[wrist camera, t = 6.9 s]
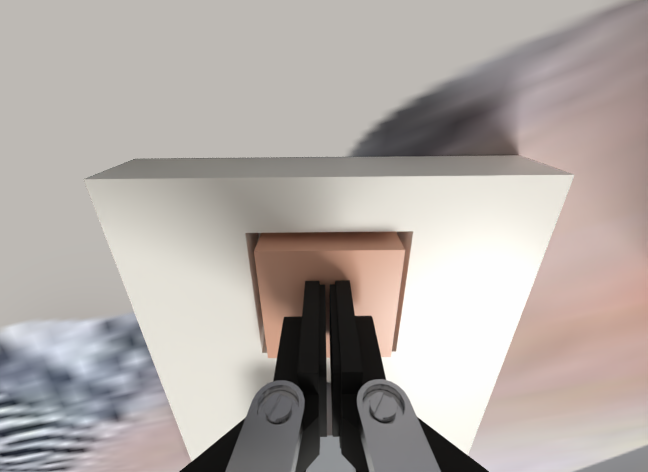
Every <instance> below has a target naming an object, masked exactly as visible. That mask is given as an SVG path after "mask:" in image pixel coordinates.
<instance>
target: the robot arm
mask: <svg viewBox="0 0 648 472" xmlns="http://www.w3.org/2000/svg"><path fill="white" fill-rule="evenodd" d="M330 370H331V403H332V435H333V437H339V443H340V449H341V454H342V455H343V456H344V457H345V458H346V460H347V461H348V462H349V463H350V464H351V465H352V466H353V472H489V471H487V470H486V469H485V468H484V467H482V466H481V465H480V464H478V463H477V462H476V461H474V460H473V459H472V458H470V457H469V456H468V455H467V454H465V453H464V452H463V451H461V450H460V449H459V448H457V447H456V446H455V445H453V444H452V443H451V442H450V441H448V440H447V439H446V438H444V437H443V436H442V435H440V434H439V433H438V432H437V431H435V430H434V429H433V428H431V427H430V426H429V425H427V424H426V423H425V422H423V421H422V420H421V419H420V418H418V417H417V416H416V414H415V411H414V409H413V407H412V404H411V402H410V400H409V398H408V396H407V395H406V393H405V391H404V390H402V389H401V388H400V387H399V386H398V385H396V384H395V383H393V382H391V381H387V380H386V377H385V372H384V367H383V363H382V358H381V354H380V349H379V345H378V340H377V335H376V331H375V326H374V322H373V318H372V316H355V313H354V306H353V299H352V292H351V285H350V280H341V281H335V284H330ZM320 437H327V365H326V305H325V285H320V281H305V288H304V300H303V312H302V316H290V317H284V319H283V324H282V330H281V336H280V342H279V348H278V355H277V361H276V367H275V373H274V379H273V382H270V383H268V384H266V385H265V386H263V387H262V388H261V389H260V390H259V391H258V392H257V393H256V395H255V396H254V398H253V400H252V402H251V405H250V408H249V410H248V413H247V416H246V417H245V418H244V419H243V420H242V421H241V422H239V423H238V424H237V425H236V426H235V427H233V428H232V429H231V430H230V431H228V432H227V433H226V434H225V435H224V436H222V437H221V438H220V439H219V440H217V441H216V442H215V443H214V444H213V445H211V446H210V447H209V448H208V449H207V450H205V451H204V452H203V453H202V454H200V455H199V456H198V457H197V458H196V459H194V460H193V461H192V462H191V463H189V464H188V465H187V466H186V467H185V468H183V469H182V470H181V471H180V472H308V467H309V466H310V465H311V464H312V462H313V461H314V460H315V459H316V458H317V457H318V456H319V455H320Z"/></svg>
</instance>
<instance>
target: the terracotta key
mask: <svg viewBox="0 0 648 472" xmlns="http://www.w3.org/2000/svg"><path fill="white" fill-rule="evenodd" d="M254 256H255V264H256V271H257V279H258V286H259V294H260V302H261V309H262V317H263V324H264V332H265V339H266V347H267V354H268V358H277V355H278V348H279V342H280V336H281V330H282V324H283V319H284V317H290V316H302V312H303V300H304V288H305V281H320V285H325V305H326V358H330V284H335V281H341V280H350V285H351V292H352V299H353V306H354V313H355V316H372V318H373V322H374V326H375V331H376V335H377V340H378V345H379V349H380V354H381V357H391V353H392V346H393V338H394V331H395V323H396V316H397V308H398V301H399V293H400V286H401V278H402V271H403V263H404V256H405V248H404V246H403V244H402V242H401V240H400V238H399V237H398V235H397V233H396V231H394V232H287V233H261V235H260V238H259V240H258V243H257V245H256V247H255V250H254Z"/></svg>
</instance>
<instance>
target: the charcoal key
mask: <svg viewBox="0 0 648 472" xmlns="http://www.w3.org/2000/svg"><path fill="white" fill-rule="evenodd" d="M308 472H353V466H352V465H351V464H350V463H349V462H348V461H347V460H346V458H345V457H344V456H343V455H342V454H341V449H340V443H339V437H333V435H332V403H331V384H327V437H320V455H319V456H318V457H317V458H316V459H315V460H314V461H313V462H312V464H311V465H310V466H309V467H308Z"/></svg>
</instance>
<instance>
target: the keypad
mask: <svg viewBox="0 0 648 472" xmlns="http://www.w3.org/2000/svg"><path fill="white" fill-rule="evenodd" d="M573 177H574V174H571V173H568V172H565V171H562V170H560V169H557V168H554V167H551V166H548V165H546V164H543V163H540V162H537V161H534V160H532V159H529V158H526V157H523V156H520V155H504V156H393V157H287V158H286V157H283V158H178V159H177V158H171V159H133V160H131V161H128V162H126V163H124V164H121V165H118V166H116V167H113V168H111V169H108V170H106V171H103V172H101V173H98V174H95V175H93V176H90V177H88V178H86V179H84V182H85V185H86V187H87V190H88V192H89V195H90V198H91V200H92V203H93V206H94V208H95V211H96V213H97V216H98V219H99V221H100V224H101V226H102V229H103V232H104V234H105V237H106V239H107V242H108V245H109V247H110V250H111V253H112V255H113V258H114V260H115V263H116V265H117V268H118V271H119V273H120V276H121V278H122V281H123V284H124V286H125V289H126V292H127V294H128V297H129V299H130V302H131V305H132V307H133V310H134V312H135V315H136V318H137V320H138V323H139V326H140V328H141V331H142V333H143V336H144V339H145V341H146V344H147V346H148V349H149V352H150V354H151V357H152V359H153V362H154V365H155V367H156V370H157V372H158V375H159V378H160V380H161V383H162V386H163V388H164V391H165V393H166V396H167V399H168V401H169V404H170V406H171V409H172V412H173V414H174V417H175V419H176V422H177V425H178V427H179V430H180V432H181V435H182V438H183V440H184V443H185V445H186V448H187V451H188V453H189V456H190V459H191V461H193V460H194V459H196V458H197V457H198V456H199V455H200V454H202V453H203V452H204V451H205V450H207V449H208V448H209V447H210V446H211V445H213V444H214V443H215V442H216V441H217V440H219V439H220V438H221V437H222V436H224V435H225V434H226V433H227V432H228V431H230V430H231V429H232V428H233V427H235V426H236V425H237V424H238V423H239V422H241V421H242V420H243V419H244V418H245V417H246V416H247V413H248V410H249V408H250V405H251V402H252V400H253V398H254V396H255V395H256V393H257V392H258V391H259V390H260V389H261V388H262V387H263V386H265V385H266V384H268V383H270V382H273V379H274V373H275V367H276V361H277V358H268V354H267V347H266V339H265V332H264V324H263V317H262V309H261V302H260V294H259V286H258V279H257V271H256V264H255V256H254V250H255V247H256V245H257V243H258V240H259V238H260V235H261V233H287V232H394V231H396V233H397V235H398V237H399V238H400V240H401V242H402V244H403V246H404V248H405V256H404V263H403V271H402V278H401V286H400V293H399V301H398V308H397V316H396V323H395V331H394V338H393V346H392V353H391V357H381V358H382V363H383V367H384V372H385V377H386V380H387V381H391V382H393V383H395V384H396V385H398V386H399V387H400V388H401V389H402V390H404V391H405V393H406V395H407V396H408V398H409V400H410V402H411V404H412V407H413V409H414V411H415V414H416V416H417V417H418V418H420V419H421V420H422V421H423V422H425V423H426V424H427V425H429V426H430V427H431V428H433V429H434V430H435V431H437V432H438V433H439V434H440V435H442V436H443V437H444V438H446V439H447V440H448V441H450V442H451V443H452V444H453V445H455V446H456V447H457V448H459V449H460V450H461V451H463V452H464V453H465V454H467V455H468V453H469V451H470V448H471V446H472V443H473V440H474V438H475V435H476V432H477V430H478V427H479V425H480V422H481V419H482V417H483V414H484V411H485V409H486V406H487V403H488V401H489V398H490V396H491V393H492V390H493V388H494V385H495V382H496V380H497V377H498V375H499V372H500V369H501V367H502V364H503V361H504V359H505V356H506V354H507V351H508V348H509V346H510V343H511V340H512V338H513V335H514V333H515V330H516V327H517V325H518V322H519V319H520V317H521V314H522V312H523V309H524V306H525V304H526V301H527V298H528V296H529V293H530V290H531V288H532V285H533V283H534V280H535V277H536V275H537V272H538V269H539V267H540V264H541V262H542V259H543V256H544V254H545V251H546V248H547V246H548V243H549V241H550V238H551V235H552V233H553V230H554V227H555V225H556V222H557V220H558V217H559V214H560V212H561V209H562V206H563V204H564V201H565V199H566V196H567V193H568V191H569V188H570V185H571V183H572V180H573ZM326 365H327V384H331V370H330V358H326Z"/></svg>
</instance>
